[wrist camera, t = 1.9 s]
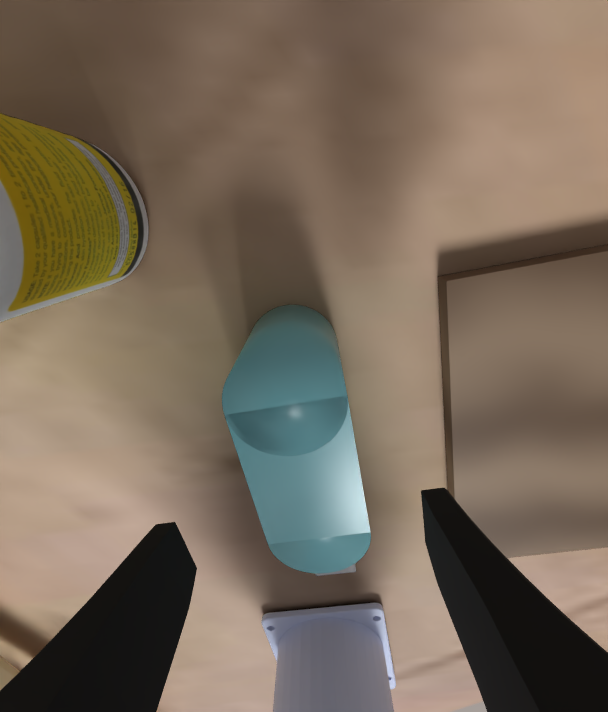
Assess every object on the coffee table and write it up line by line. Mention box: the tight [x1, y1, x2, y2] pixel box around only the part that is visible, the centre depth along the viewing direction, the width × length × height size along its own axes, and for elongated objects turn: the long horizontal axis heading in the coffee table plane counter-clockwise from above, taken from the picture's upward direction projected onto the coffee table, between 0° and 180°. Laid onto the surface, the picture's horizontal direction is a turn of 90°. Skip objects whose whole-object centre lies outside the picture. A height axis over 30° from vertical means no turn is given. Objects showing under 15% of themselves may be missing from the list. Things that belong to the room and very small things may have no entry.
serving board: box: [438, 245, 608, 558], centre depth 16 cm, size 16×11×1 cm
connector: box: [222, 305, 371, 576], centre depth 15 cm, size 13×4×5 cm, turn 11°
